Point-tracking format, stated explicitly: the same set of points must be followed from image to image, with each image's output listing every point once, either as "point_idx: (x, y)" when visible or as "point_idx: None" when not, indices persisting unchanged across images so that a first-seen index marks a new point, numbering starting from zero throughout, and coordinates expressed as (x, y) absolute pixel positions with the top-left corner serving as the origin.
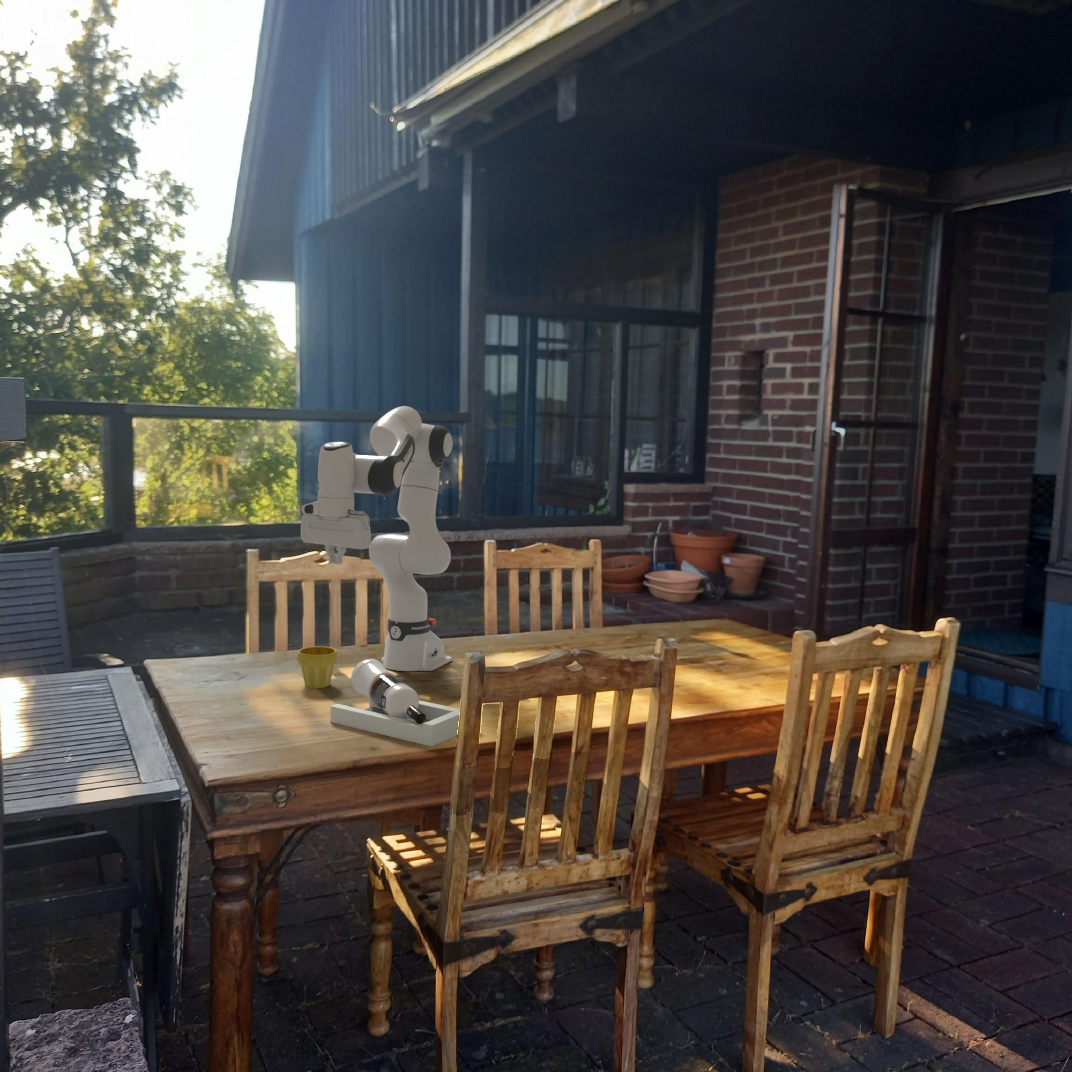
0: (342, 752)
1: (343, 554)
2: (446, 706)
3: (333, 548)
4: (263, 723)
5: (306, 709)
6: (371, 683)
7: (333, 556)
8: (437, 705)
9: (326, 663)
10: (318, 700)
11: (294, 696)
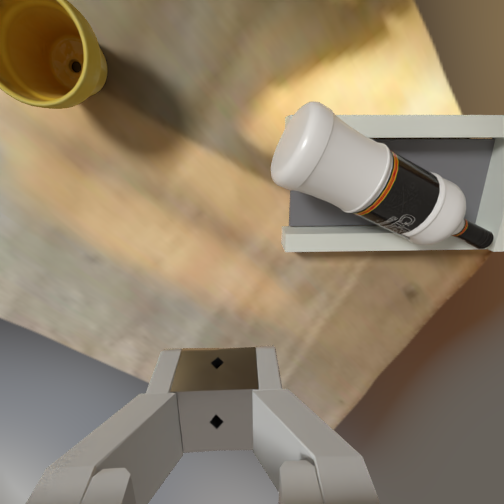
0: (382, 328)
1: (311, 420)
2: (476, 116)
3: (135, 500)
4: (204, 307)
5: (199, 215)
6: (356, 211)
7: (195, 431)
8: (456, 122)
9: (97, 72)
10: (172, 158)
11: (116, 166)
